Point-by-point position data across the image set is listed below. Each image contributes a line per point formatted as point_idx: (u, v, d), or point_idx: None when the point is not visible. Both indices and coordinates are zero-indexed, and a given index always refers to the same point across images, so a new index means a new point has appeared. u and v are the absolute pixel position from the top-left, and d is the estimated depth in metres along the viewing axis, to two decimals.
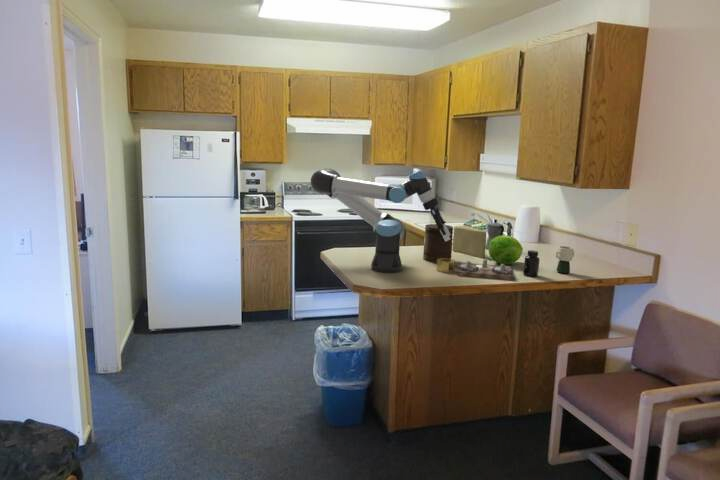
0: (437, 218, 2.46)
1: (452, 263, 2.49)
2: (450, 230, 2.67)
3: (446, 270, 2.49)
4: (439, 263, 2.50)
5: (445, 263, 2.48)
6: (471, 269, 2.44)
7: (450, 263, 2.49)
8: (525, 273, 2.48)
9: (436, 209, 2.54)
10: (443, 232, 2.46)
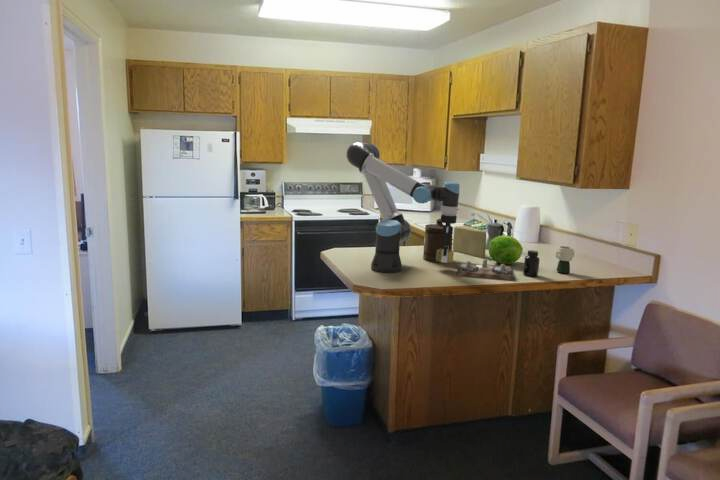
0: (447, 238, 2.43)
1: (452, 254, 2.49)
2: None
3: None
4: (439, 253, 2.49)
5: None
6: (471, 269, 2.44)
7: (450, 254, 2.48)
8: (525, 273, 2.48)
9: (450, 226, 2.50)
10: (444, 253, 2.46)
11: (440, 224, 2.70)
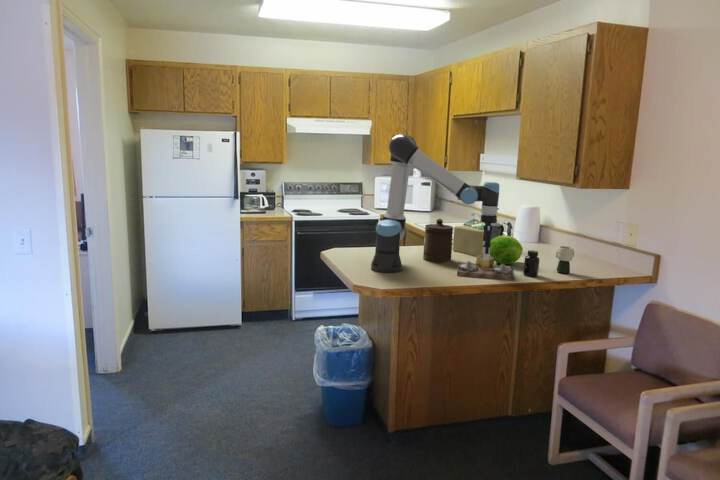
0: (489, 236, 2.42)
1: (492, 260, 2.49)
2: (450, 230, 2.67)
3: (486, 267, 2.49)
4: (479, 260, 2.50)
5: (485, 260, 2.48)
6: (471, 269, 2.44)
7: (490, 260, 2.49)
8: (525, 273, 2.48)
9: None
10: (486, 251, 2.43)
11: (440, 224, 2.70)
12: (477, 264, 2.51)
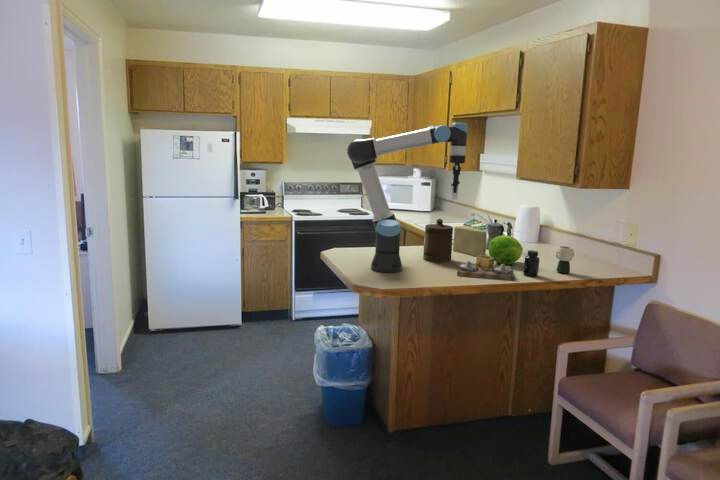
0: (457, 174, 2.45)
1: (492, 260, 2.49)
2: (450, 230, 2.67)
3: (486, 267, 2.49)
4: (479, 260, 2.50)
5: (485, 260, 2.48)
6: (471, 269, 2.44)
7: (490, 260, 2.49)
8: (525, 273, 2.48)
9: None
10: (455, 190, 2.47)
11: (440, 224, 2.70)
12: (477, 264, 2.51)
